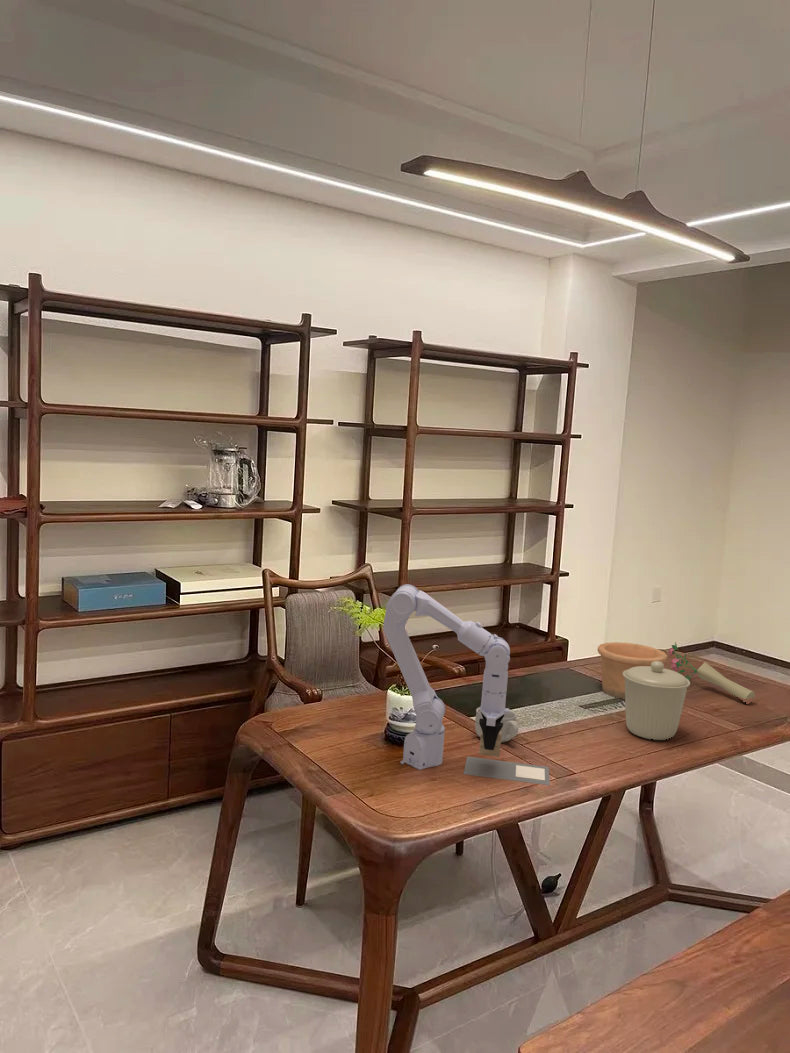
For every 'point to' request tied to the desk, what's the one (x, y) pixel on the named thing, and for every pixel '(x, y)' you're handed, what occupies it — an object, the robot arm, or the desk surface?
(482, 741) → the tan u-shaped block
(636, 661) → the pottery
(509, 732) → the teacup
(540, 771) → the board
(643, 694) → the canister
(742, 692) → the flower vase
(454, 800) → the desk surface
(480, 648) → the robot arm
